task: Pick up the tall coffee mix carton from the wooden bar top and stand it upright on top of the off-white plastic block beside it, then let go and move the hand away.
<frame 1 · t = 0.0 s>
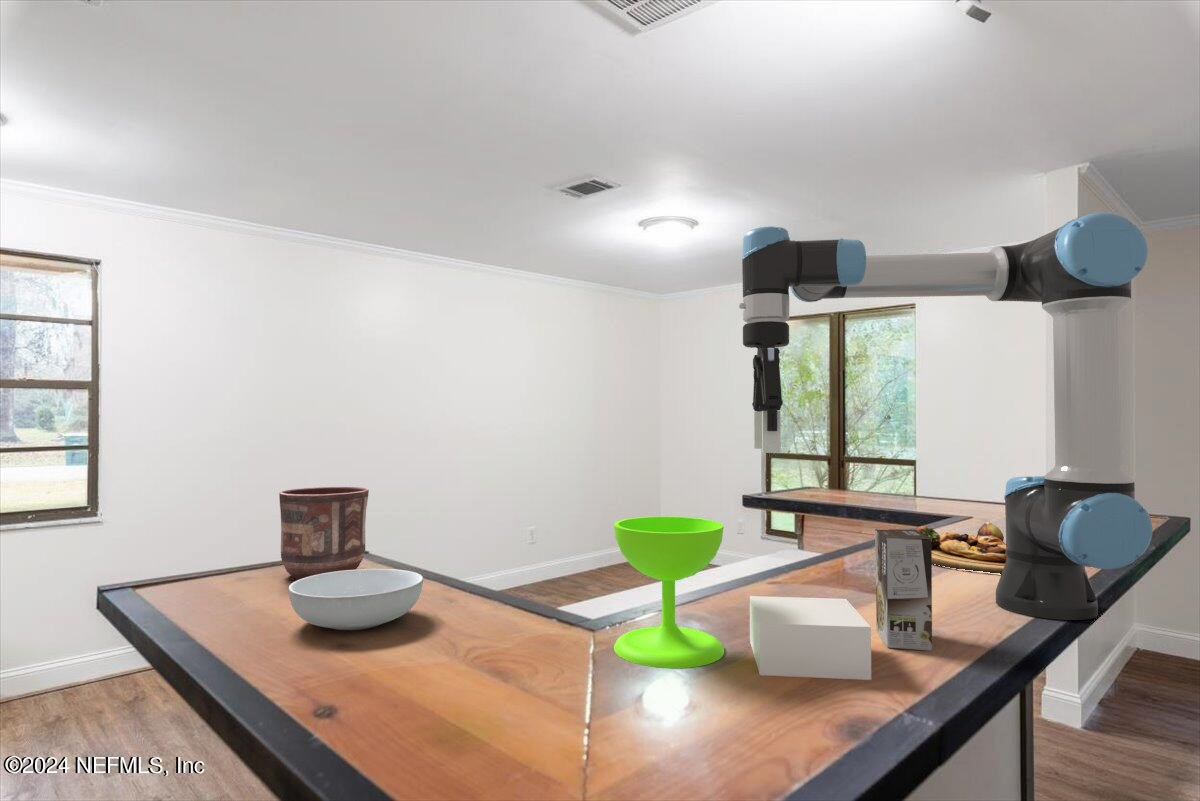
hand: (766, 450, 116), 28 cm above the bar counter, tool pointing down, fingers open, 13 cm apart
plinth block: (805, 660, 98), on the bar counter
serving bowl: (357, 623, 115), on the bar counter
coffee box: (903, 641, 106), on the bar counter
wooden plate with food: (985, 563, 164), on the bar counter
pottery: (324, 575, 149), on the bar counter
wineglass: (668, 649, 102), on the bar counter
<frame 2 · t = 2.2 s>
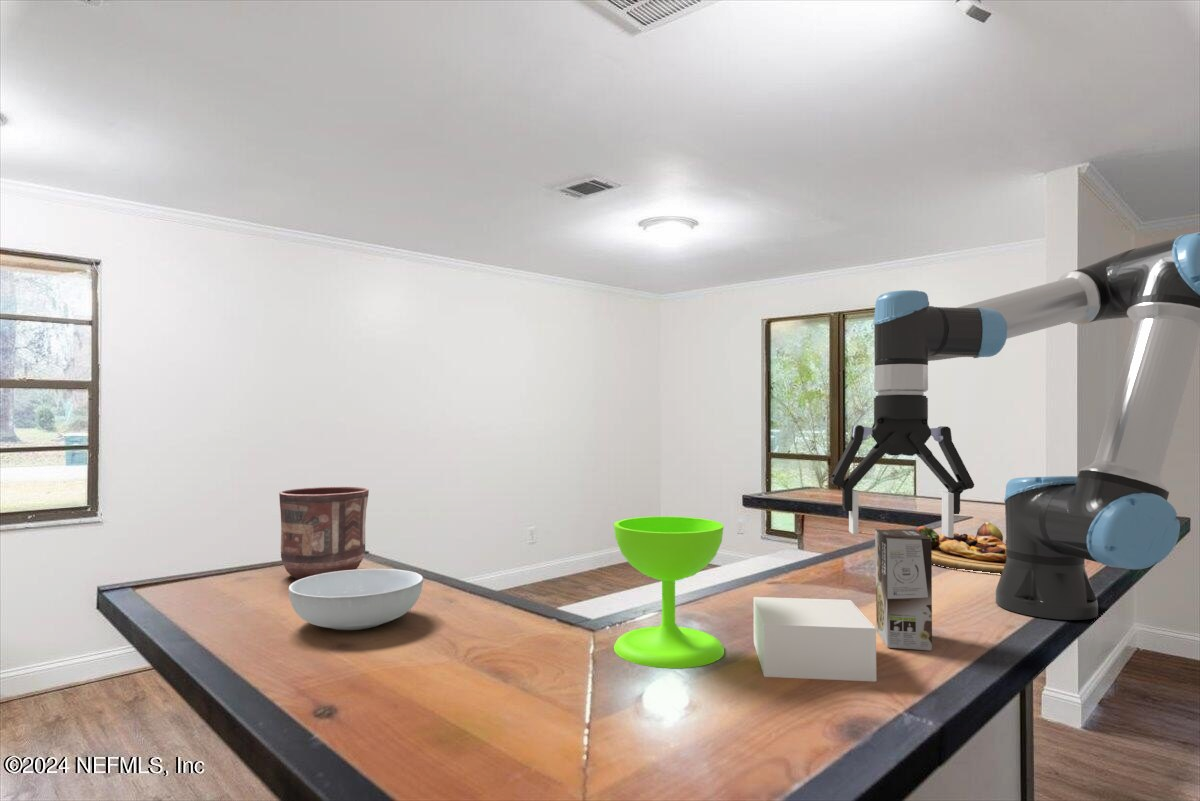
hand: (900, 534, 106), 16 cm above the bar counter, tool pointing down, fingers open, 13 cm apart
nothing on the bar counter moved.
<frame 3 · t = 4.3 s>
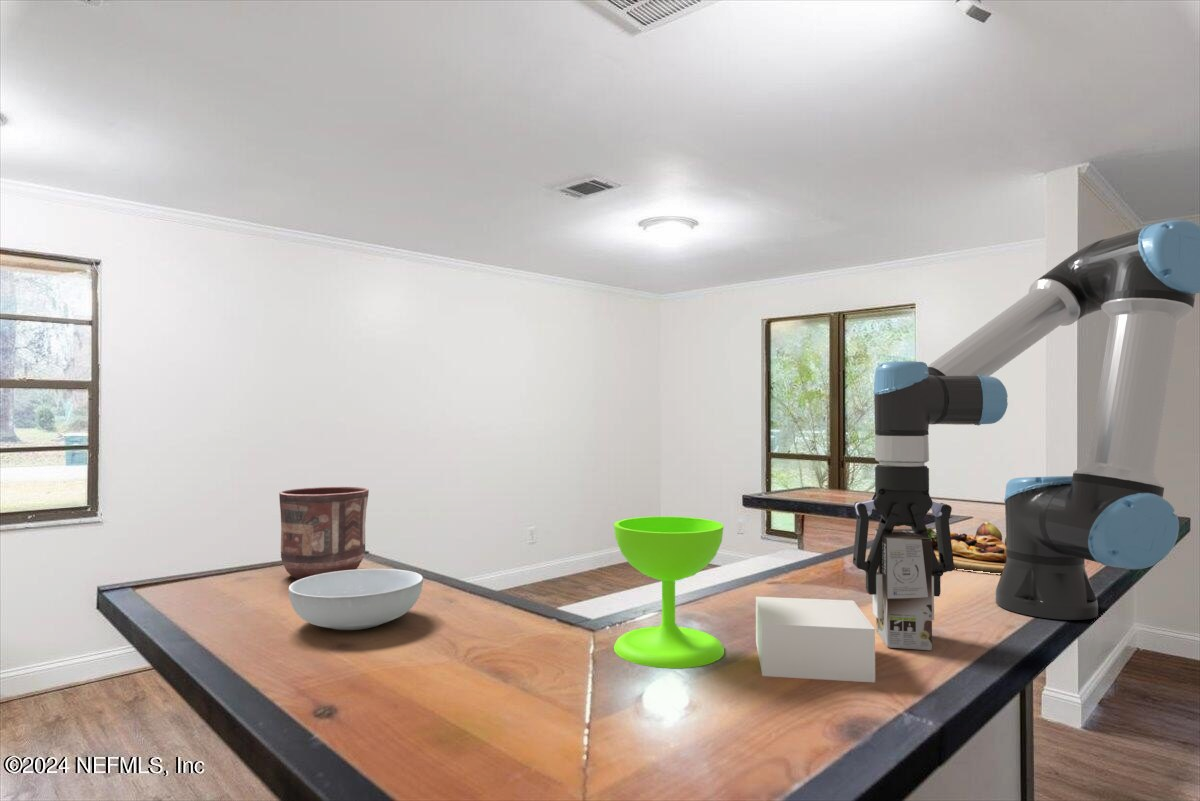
hand: (902, 616, 106), 4 cm above the bar counter, tool pointing down, fingers closed on coffee box, 7 cm apart
coffee box: (903, 641, 106), on the bar counter, touching gripper
everything else where it was.
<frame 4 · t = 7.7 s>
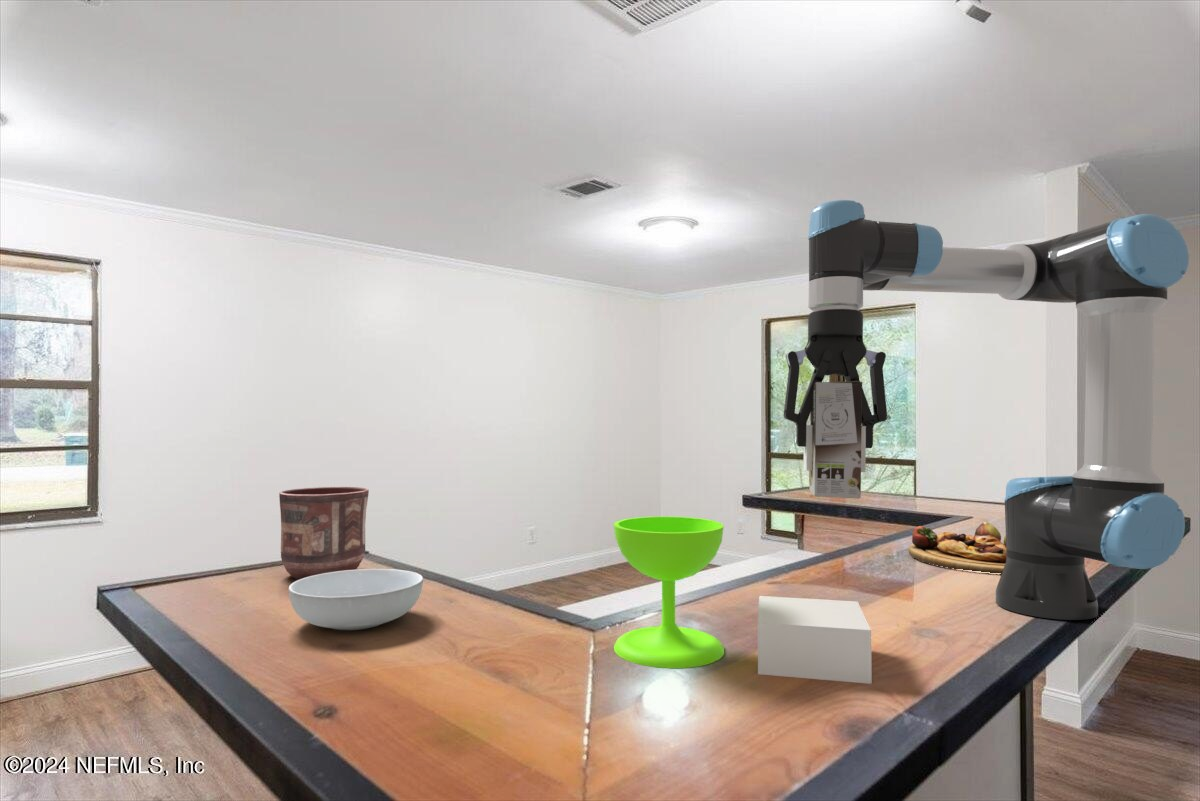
hand: (833, 470, 101), 26 cm above the bar counter, tool pointing down, fingers closed on coffee box, 7 cm apart
coffee box: (833, 496, 101), point 22 cm above the bar counter, touching gripper
everything else where it was.
when the fingers open (12 cm above the bar counter, at t = 11.3 s): coffee box drops 2 cm, resting on plinth block.
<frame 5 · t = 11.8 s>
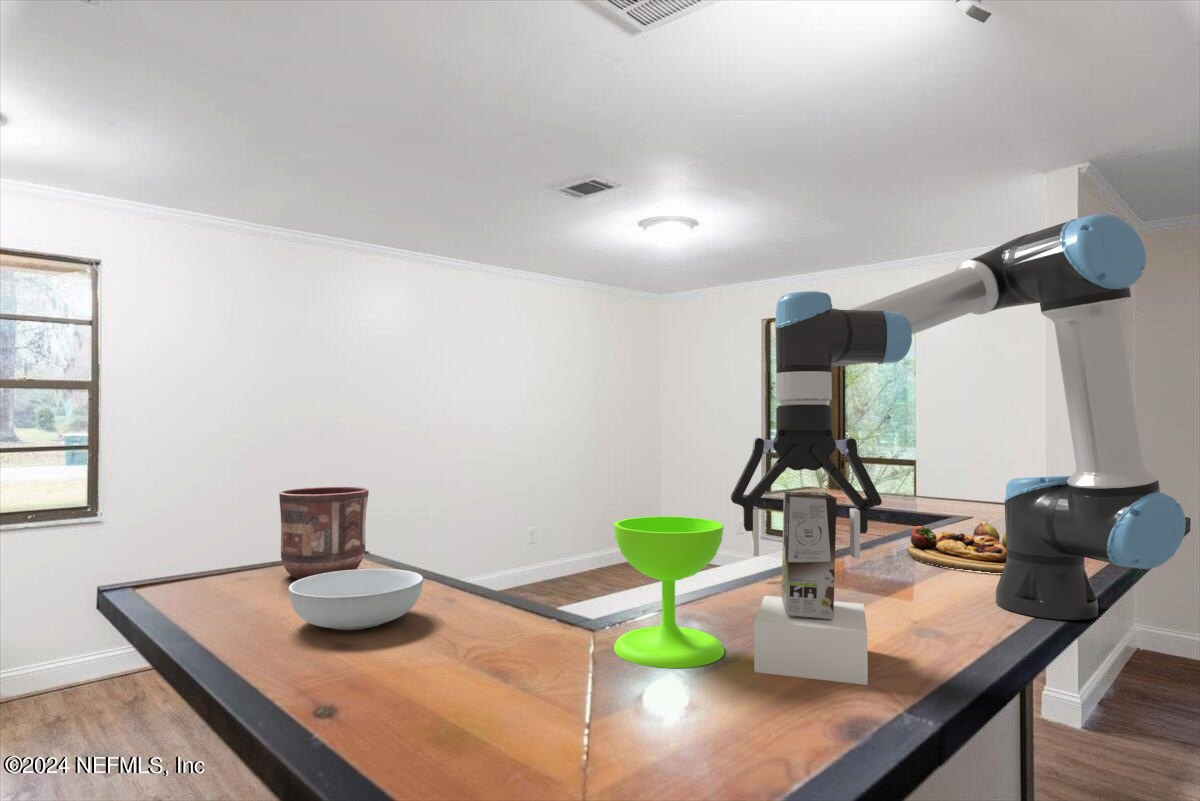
hand: (804, 555, 98), 14 cm above the bar counter, tool pointing down, fingers open, 13 cm apart
plinth block: (811, 663, 97), on the bar counter, touching coffee box
coffee box: (806, 611, 98), point 7 cm above the bar counter, touching plinth block
everything else where it was.
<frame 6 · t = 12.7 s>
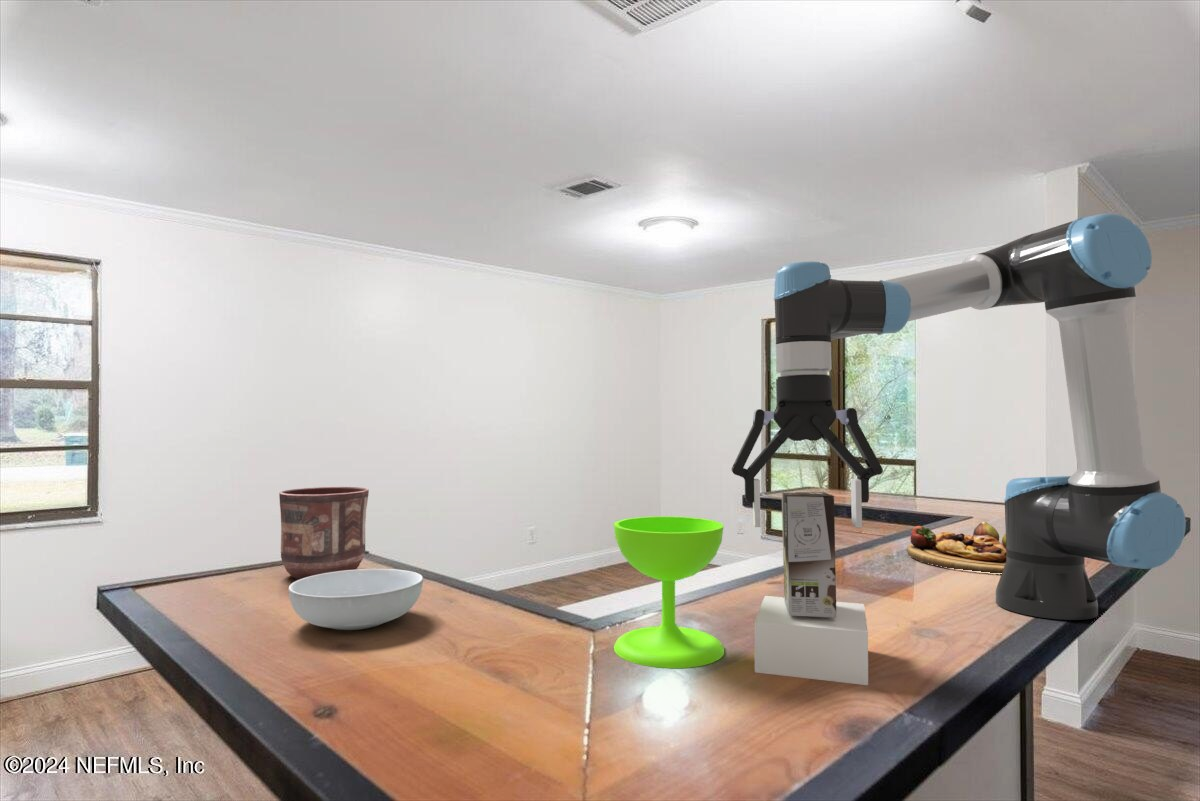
hand: (806, 526, 98), 18 cm above the bar counter, tool pointing down, fingers open, 13 cm apart
nothing on the bar counter moved.
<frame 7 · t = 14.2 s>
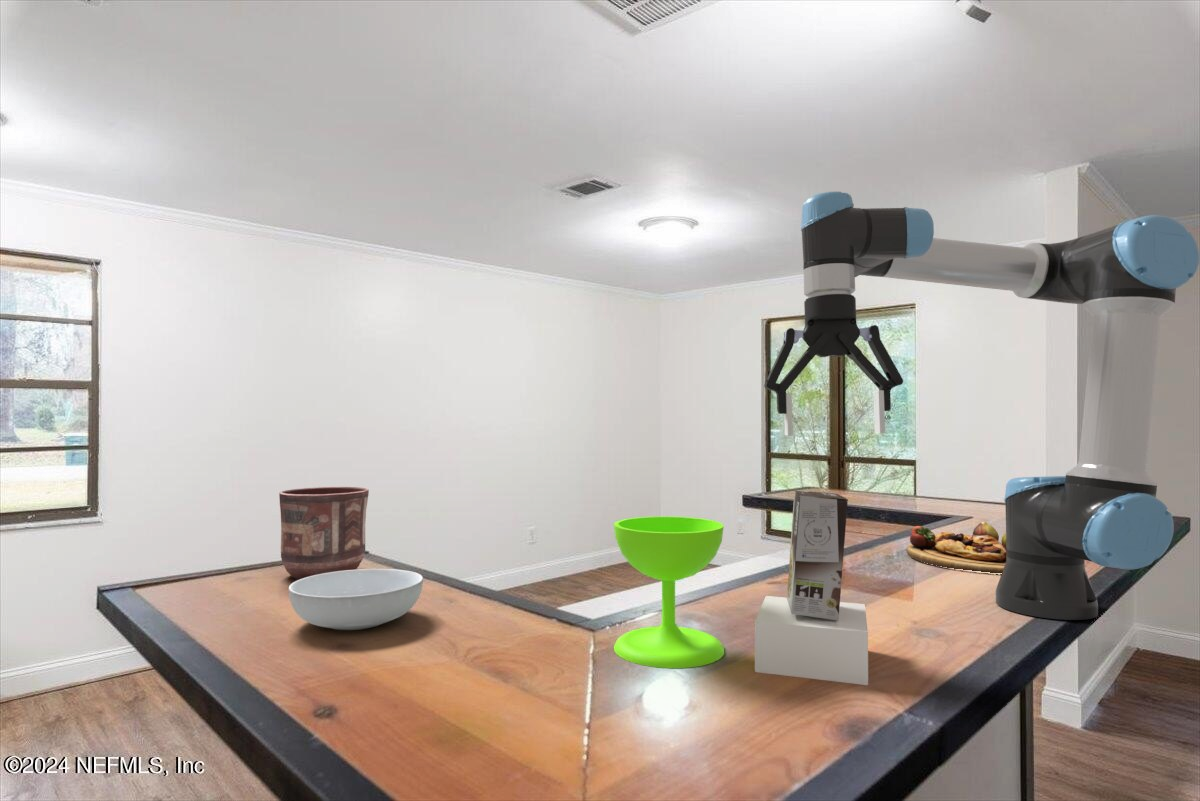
hand: (834, 434, 107), 31 cm above the bar counter, tool pointing down, fingers open, 13 cm apart
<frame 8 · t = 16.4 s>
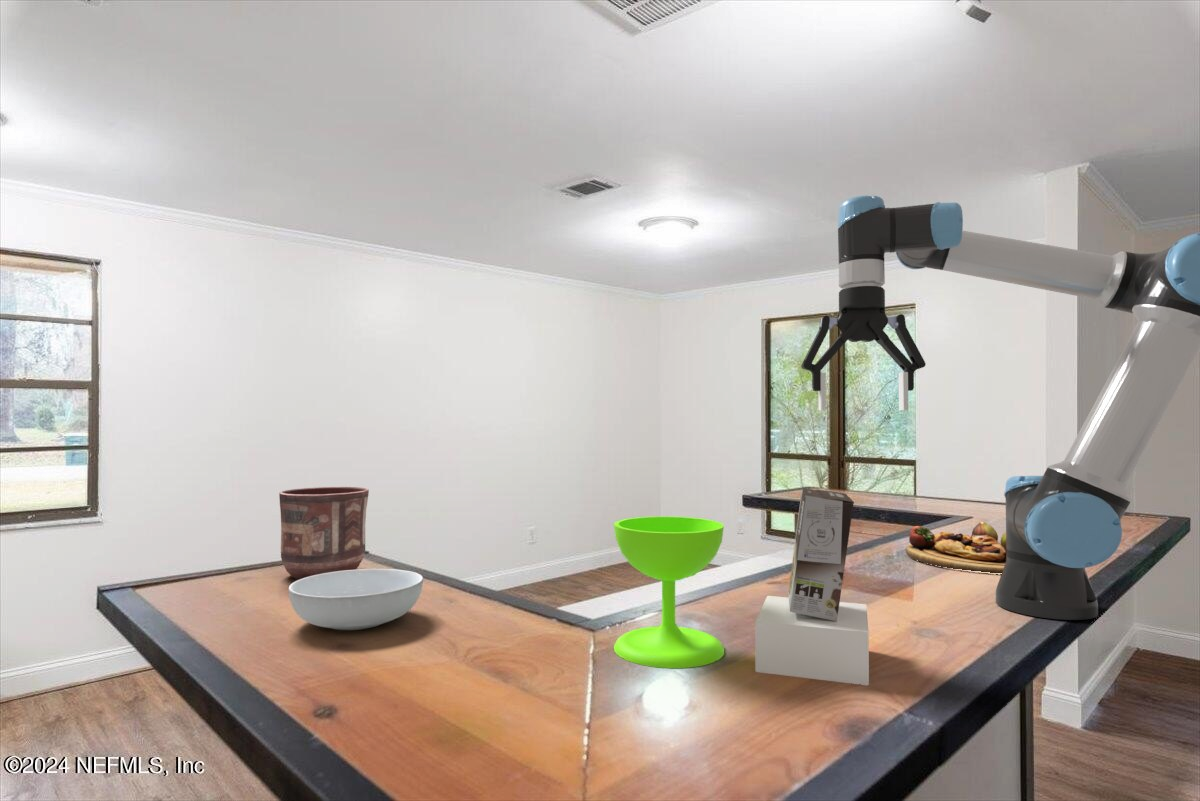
hand: (862, 410, 121), 35 cm above the bar counter, tool pointing down, fingers open, 13 cm apart
at the end: coffee box inside the target area on the plinth block (0.5 cm from its centre), point 7.3 cm above the plinth block's base; coffee box tilted 8°; the gripper is holding nothing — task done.
